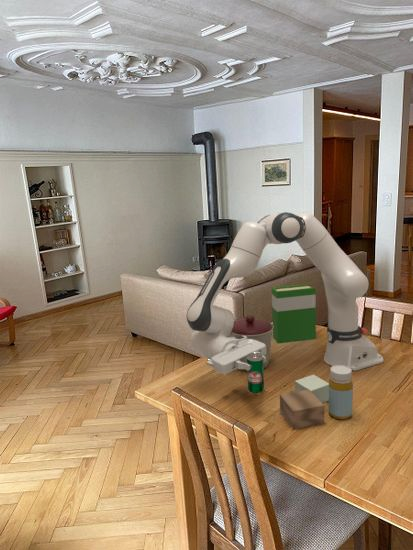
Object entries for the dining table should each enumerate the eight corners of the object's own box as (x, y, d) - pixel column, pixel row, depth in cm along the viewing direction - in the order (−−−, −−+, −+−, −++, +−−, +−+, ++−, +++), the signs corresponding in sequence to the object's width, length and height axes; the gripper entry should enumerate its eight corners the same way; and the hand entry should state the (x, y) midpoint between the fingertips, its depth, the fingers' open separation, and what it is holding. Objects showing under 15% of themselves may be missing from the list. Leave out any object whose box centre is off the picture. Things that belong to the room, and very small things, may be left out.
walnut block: (309, 406, 132) (309, 389, 131) (324, 423, 123) (324, 405, 121) (280, 411, 130) (279, 394, 129) (293, 429, 121) (292, 411, 120)
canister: (225, 375, 157) (222, 323, 152) (233, 355, 174) (231, 307, 169) (272, 377, 153) (271, 324, 148) (276, 357, 170) (275, 308, 165)
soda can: (246, 393, 128) (245, 357, 125) (248, 386, 132) (248, 351, 130) (263, 395, 127) (262, 358, 124) (264, 387, 131) (264, 352, 129)
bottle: (352, 409, 129) (353, 365, 126) (352, 421, 123) (353, 376, 119) (329, 406, 131) (329, 363, 128) (328, 418, 125) (328, 373, 122)
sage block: (313, 390, 142) (313, 374, 141) (329, 400, 135) (330, 384, 134) (295, 397, 139) (294, 380, 137) (311, 407, 132) (311, 390, 130)
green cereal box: (309, 333, 192) (309, 283, 187) (315, 339, 185) (315, 287, 180) (273, 337, 190) (271, 287, 185) (278, 343, 183) (276, 291, 177)
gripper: (202, 352, 130) (233, 365, 120) (247, 334, 143) (278, 344, 132) (204, 371, 131) (234, 385, 121) (248, 350, 144) (278, 362, 134)
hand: (257, 363), depth 127 cm, fingers closed on soda can, 5 cm apart
